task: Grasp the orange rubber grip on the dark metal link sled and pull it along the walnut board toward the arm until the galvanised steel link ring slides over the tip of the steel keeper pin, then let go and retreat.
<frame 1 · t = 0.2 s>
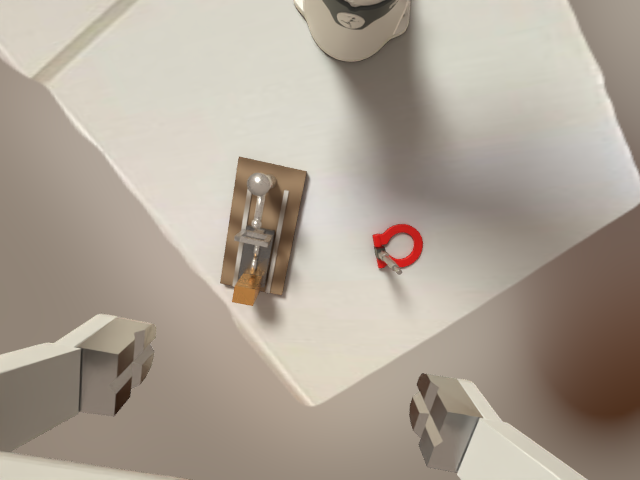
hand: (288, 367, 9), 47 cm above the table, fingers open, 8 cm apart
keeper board: (262, 228, 56), on the table
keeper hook: (271, 180, 54), resting on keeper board
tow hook: (397, 245, 58), on the table
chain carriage: (251, 265, 51), point 6 cm above the table, slide at 0.0 cm
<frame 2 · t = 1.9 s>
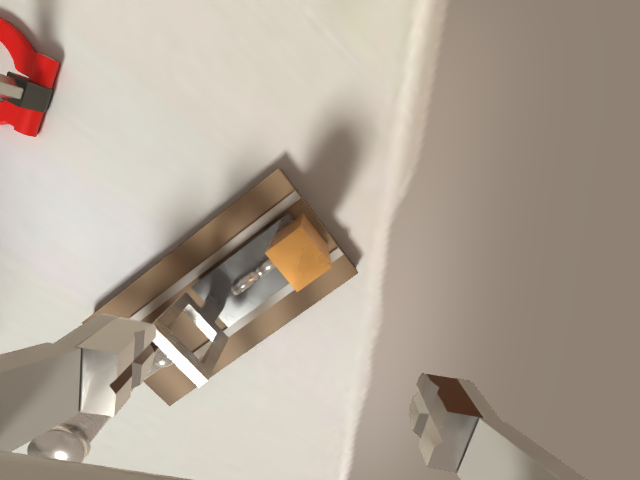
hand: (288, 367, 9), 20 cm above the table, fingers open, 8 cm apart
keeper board: (223, 291, 30), on the table
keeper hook: (157, 341, 31), resting on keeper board
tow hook: (1, 75, 25), on the table
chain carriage: (254, 283, 23), point 6 cm above the table, slide at 0.0 cm
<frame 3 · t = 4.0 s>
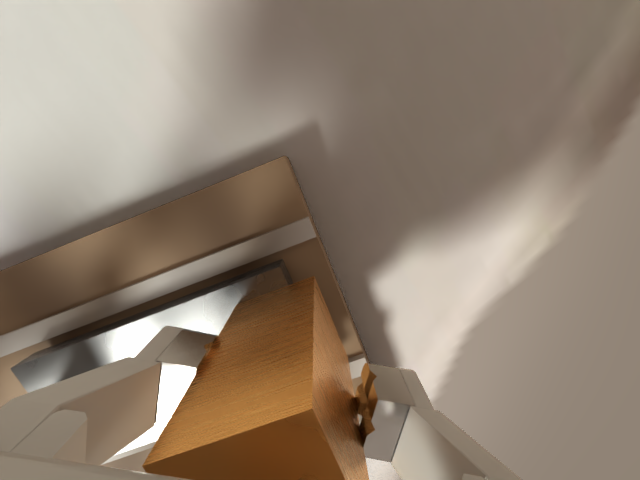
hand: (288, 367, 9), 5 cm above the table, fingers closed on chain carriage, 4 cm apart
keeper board: (108, 368, 15), on the table
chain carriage: (130, 452, 8), point 6 cm above the table, slide at 0.0 cm, touching gripper
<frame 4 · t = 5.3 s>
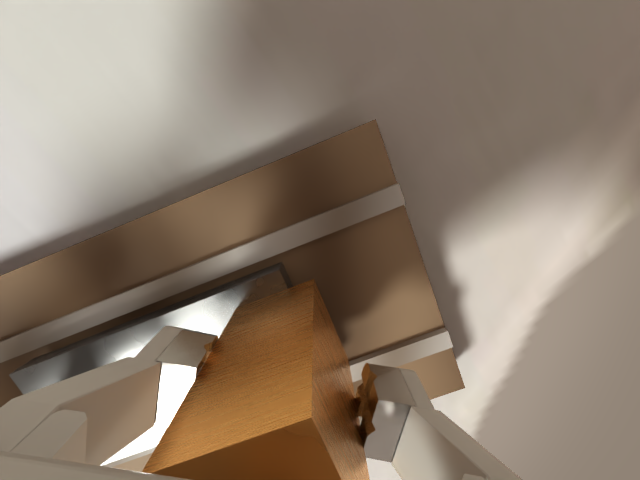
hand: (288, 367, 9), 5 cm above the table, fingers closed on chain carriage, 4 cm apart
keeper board: (174, 347, 14), on the table
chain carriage: (129, 459, 8), point 6 cm above the table, slide at 3.6 cm, touching gripper
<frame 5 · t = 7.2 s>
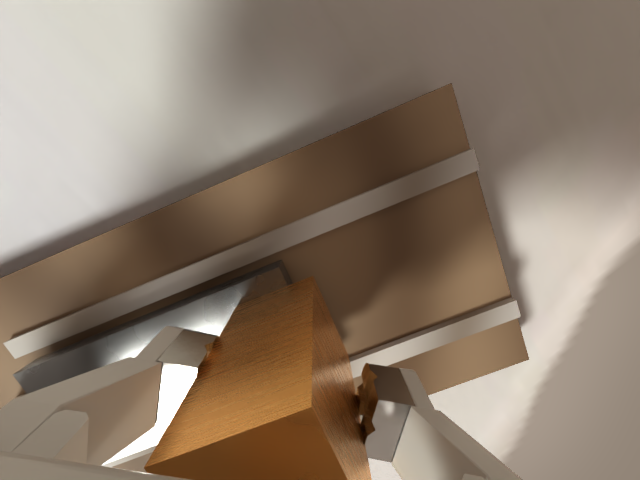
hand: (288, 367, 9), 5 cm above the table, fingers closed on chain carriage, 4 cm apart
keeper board: (231, 324, 14), on the table
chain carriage: (133, 455, 8), point 6 cm above the table, slide at 6.6 cm, touching gripper
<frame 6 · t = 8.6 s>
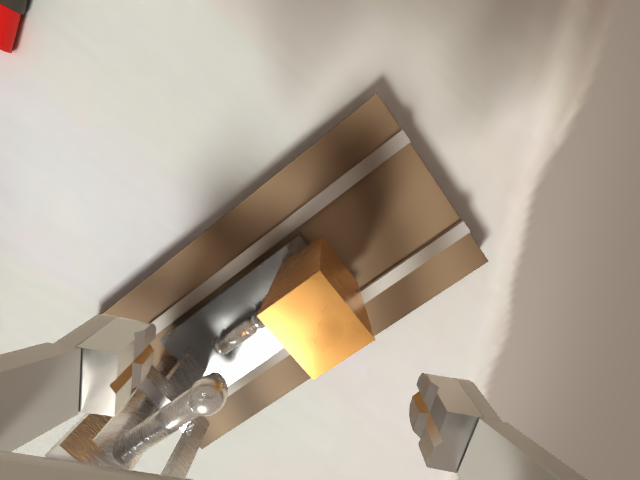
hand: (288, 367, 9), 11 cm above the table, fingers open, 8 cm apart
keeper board: (279, 288, 21), on the table
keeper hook: (185, 357, 22), resting on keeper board
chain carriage: (245, 349, 15), point 6 cm above the table, slide at 6.5 cm
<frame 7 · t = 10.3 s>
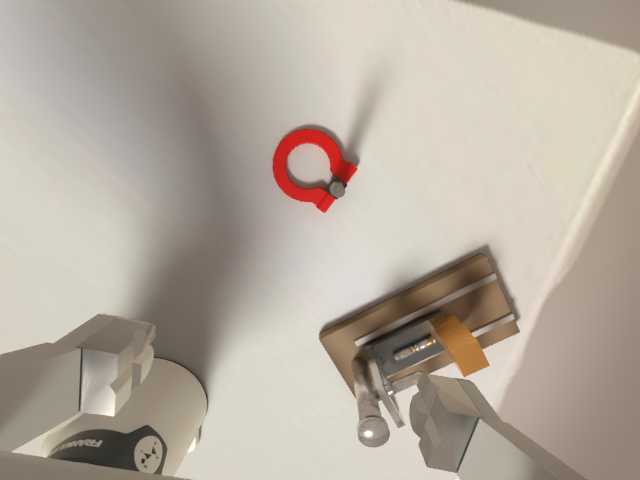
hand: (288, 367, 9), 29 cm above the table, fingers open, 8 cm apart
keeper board: (415, 329, 41), on the table
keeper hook: (358, 357, 42), resting on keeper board
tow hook: (310, 168, 37), on the table
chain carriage: (424, 361, 35), point 6 cm above the table, slide at 6.5 cm
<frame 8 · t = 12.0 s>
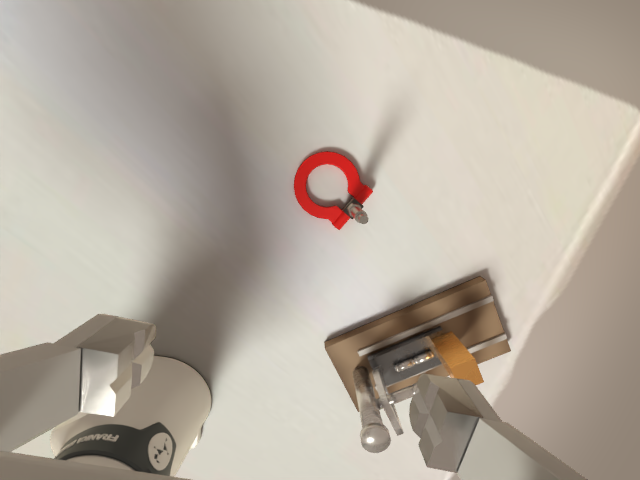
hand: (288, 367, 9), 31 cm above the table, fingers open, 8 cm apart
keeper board: (415, 343, 44), on the table
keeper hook: (359, 366, 45), resting on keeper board
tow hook: (329, 187, 39), on the table
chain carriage: (423, 374, 38), point 6 cm above the table, slide at 6.5 cm
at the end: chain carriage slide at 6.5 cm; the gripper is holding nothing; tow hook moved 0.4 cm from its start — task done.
